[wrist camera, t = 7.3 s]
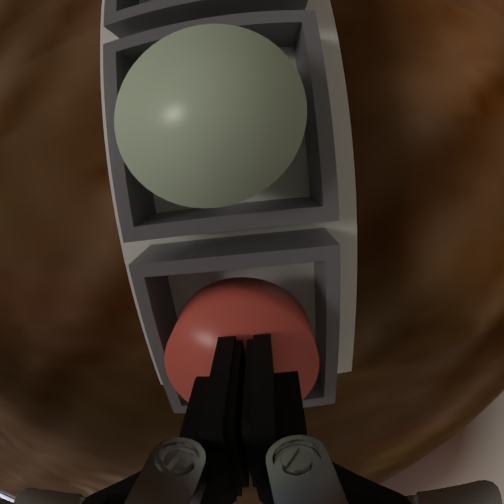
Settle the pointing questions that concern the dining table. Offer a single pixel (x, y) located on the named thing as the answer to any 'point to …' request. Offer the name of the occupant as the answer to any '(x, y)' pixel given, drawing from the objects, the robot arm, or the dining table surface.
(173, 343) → the red button
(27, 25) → the dining table surface
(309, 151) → the button housing
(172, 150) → the sage button
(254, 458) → the robot arm
